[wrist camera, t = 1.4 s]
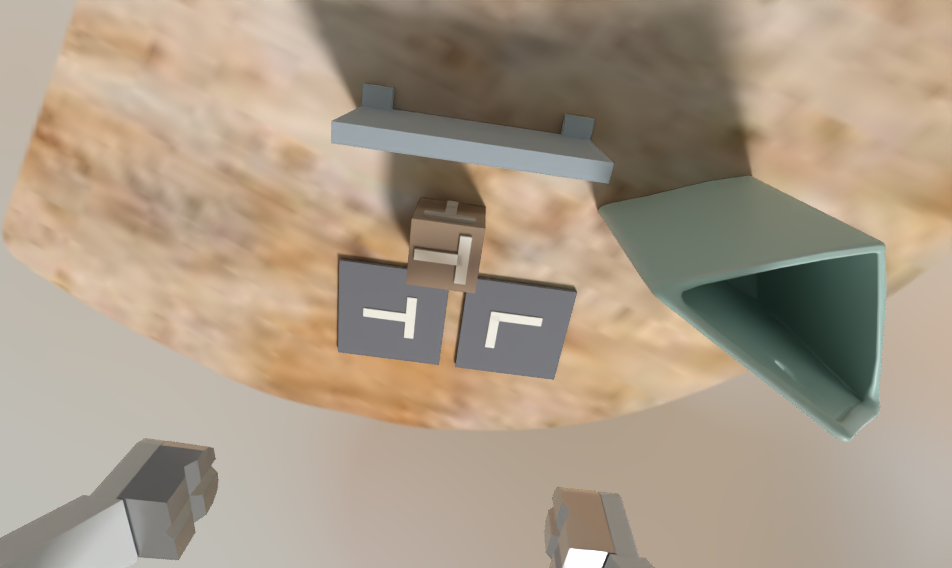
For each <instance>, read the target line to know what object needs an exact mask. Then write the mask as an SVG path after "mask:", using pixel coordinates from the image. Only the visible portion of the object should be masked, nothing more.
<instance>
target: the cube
mask: <svg viewBox="0 0 952 568" xmlns="http://www.w3.org/2000/svg"><path fill="white" fill-rule="evenodd" d="M485 215H486V207H485V206H478V205H471V204H464V203H458V202H456V201H449V200H448V201H442V200H435V199H428V198H420V200H419V203H418V205H417V207H416V210H415V212H414V214H413V216H412V220H411V232H410V244H409V256H408V268H407V280H406V284H408V285H415V286H423V287H430V288H438V289H445V290H453V291H460V292H467V293H475V291H476V284H477V278H478V272H479V265H480V259H481V253H482V246H483V240H484V234H485Z"/></svg>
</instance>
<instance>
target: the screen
mask: <svg viewBox="0 0 952 568" xmlns="http://www.w3.org/2000/svg"><path fill="white" fill-rule="evenodd" d="M393 101H394V88H393V87H386V86H380V85H373V84H367V83H365V84H363V87H362V106H361V107H359V108H357V109H355V110H353V111H351V112H349V113H347V114H345V115H343V116H341V117H339V118H337V119H335V120H333V121H331V143H334V144H341V145H347V146H354V147H361V148H368V149H375V150H382V151H388V152H395V153H402V154H409V155H416V156H423V157H429V158H436V159H443V160H450V161H457V162H464V163H470V164H477V165H484V166H491V167H498V168H505V169H511V170H518V171H525V172H532V173H539V174H546V175H552V176H559V177H566V178H573V179H580V180H587V181H593V182H600V183H607V184H609V181H610V178H611V174H612V170H613V167H614V162H613V161H612V160H611V159H610V158H608V157H607V156H606V155H605V154H604V153H603V152H602V151H601V150H600V149H599V148H598V147H597V146H596V145H595V144H594V143H593V142H592V141H590V139H591V135H592V131H593V126H594V122H595V119H594V118H590V117H584V116H577V115H570V114H565V116H564V121H563V125H562V130H561V134H557V133H550V132H543V131H537V130H530V129H523V128H517V127H510V126H503V125H497V124H490V123H483V122H477V121H470V120H463V119H457V118H450V117H444V116H437V115H430V114H424V113H417V112H410V111H404V110H397V109H393Z"/></svg>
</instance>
